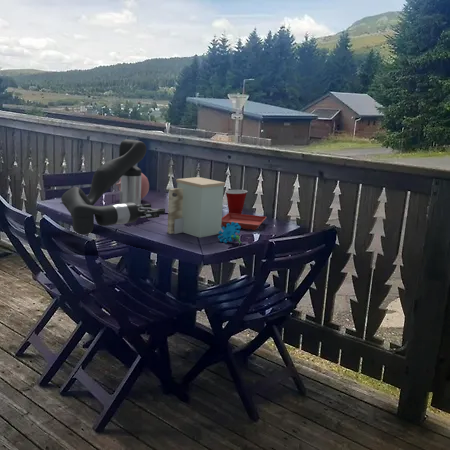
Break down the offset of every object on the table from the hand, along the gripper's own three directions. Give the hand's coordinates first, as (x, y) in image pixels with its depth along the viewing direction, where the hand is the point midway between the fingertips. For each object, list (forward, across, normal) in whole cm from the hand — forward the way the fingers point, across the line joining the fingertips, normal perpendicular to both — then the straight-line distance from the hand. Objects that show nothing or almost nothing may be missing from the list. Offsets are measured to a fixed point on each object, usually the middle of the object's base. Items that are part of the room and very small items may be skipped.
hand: (157, 208), depth 208 cm
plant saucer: (+44, +6, -11) cm, 46 cm away
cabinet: (+16, +5, -11) cm, 20 cm away
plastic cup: (+55, -9, -11) cm, 57 cm away
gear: (+18, +23, -11) cm, 31 cm away
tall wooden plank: (+9, 0, -11) cm, 14 cm away
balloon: (+32, -61, -12) cm, 70 cm away
